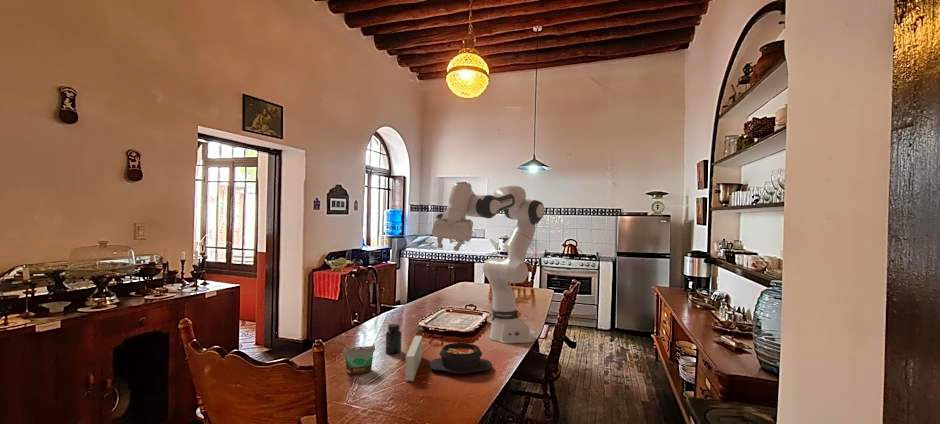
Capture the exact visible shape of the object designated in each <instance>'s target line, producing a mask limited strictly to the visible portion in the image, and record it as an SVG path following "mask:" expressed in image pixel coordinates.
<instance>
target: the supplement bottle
mask: <svg viewBox="0 0 940 424" xmlns="http://www.w3.org/2000/svg"><path fill="white" fill-rule="evenodd" d="M400 329H401V328H400V324H399V323H390V324H388V327H387V331H386V333H385V353H386V354H387V355H391V356H395V355H397V356H398V355H400V354H401V353H402V345H403V344H402V339H403V338H402V331H401V330H400Z"/></svg>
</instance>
